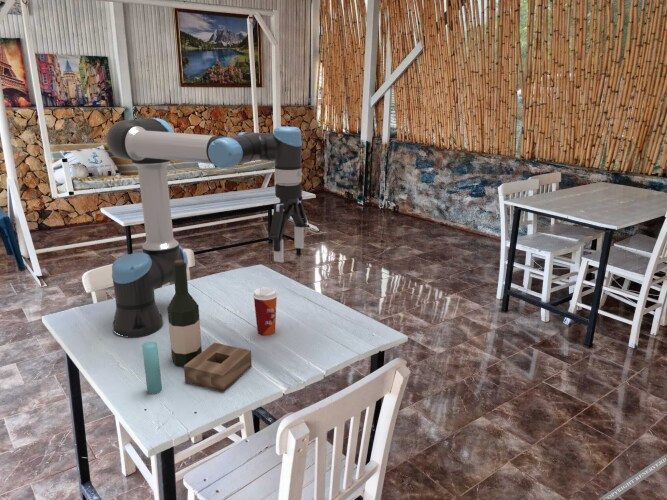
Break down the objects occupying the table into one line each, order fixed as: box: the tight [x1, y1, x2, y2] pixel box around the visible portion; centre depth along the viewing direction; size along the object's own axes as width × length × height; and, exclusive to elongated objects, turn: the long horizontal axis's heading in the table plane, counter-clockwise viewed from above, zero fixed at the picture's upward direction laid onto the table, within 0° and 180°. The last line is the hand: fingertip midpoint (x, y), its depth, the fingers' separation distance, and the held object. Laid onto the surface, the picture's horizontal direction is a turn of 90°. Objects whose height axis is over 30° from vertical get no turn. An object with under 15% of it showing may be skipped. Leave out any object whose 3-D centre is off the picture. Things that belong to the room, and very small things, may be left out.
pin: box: [141, 341, 163, 395], centre depth 134 cm, size 4×4×13 cm
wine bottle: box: [167, 260, 203, 368], centre depth 146 cm, size 8×8×30 cm
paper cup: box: [252, 286, 279, 337], centre depth 165 cm, size 8×8×14 cm
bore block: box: [183, 342, 253, 394], centre depth 142 cm, size 12×14×5 cm
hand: (289, 254), depth 155 cm, fingers open, 13 cm apart
